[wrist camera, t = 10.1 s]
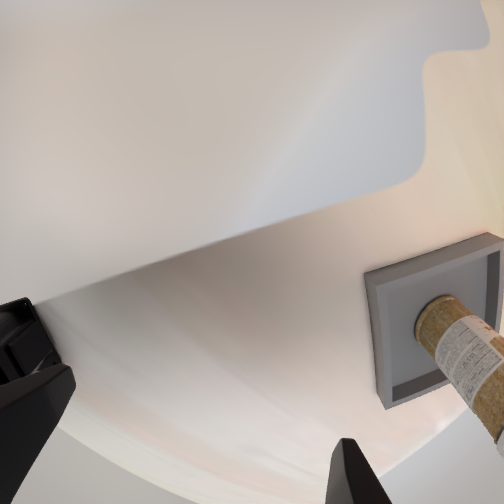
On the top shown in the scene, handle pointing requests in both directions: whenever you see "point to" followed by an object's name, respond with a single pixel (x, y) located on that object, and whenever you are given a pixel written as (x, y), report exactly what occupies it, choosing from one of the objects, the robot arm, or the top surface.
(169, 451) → the top surface
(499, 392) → the spice shaker
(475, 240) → the tray
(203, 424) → the top surface
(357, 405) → the top surface
